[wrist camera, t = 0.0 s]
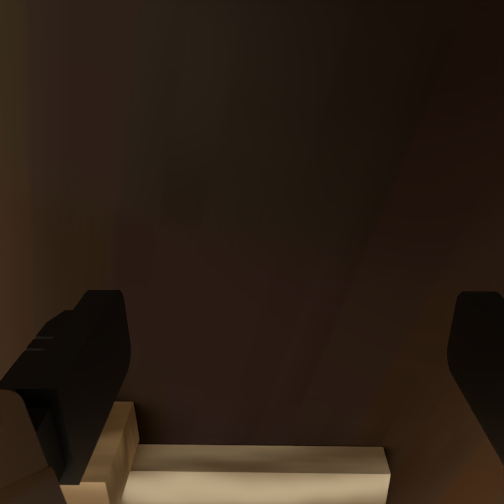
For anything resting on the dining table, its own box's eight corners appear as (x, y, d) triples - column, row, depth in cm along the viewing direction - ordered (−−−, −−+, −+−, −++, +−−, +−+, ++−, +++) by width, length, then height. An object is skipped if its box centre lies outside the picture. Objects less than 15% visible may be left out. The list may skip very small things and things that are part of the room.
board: (36, 443, 38) (21, 470, 35) (383, 446, 37) (390, 474, 34) (60, 522, 42) (48, 550, 40) (370, 527, 41) (376, 556, 39)
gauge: (66, 391, 35) (23, 470, 29) (131, 391, 35) (102, 471, 29) (95, 507, 41) (64, 594, 35) (151, 508, 41) (130, 596, 35)
